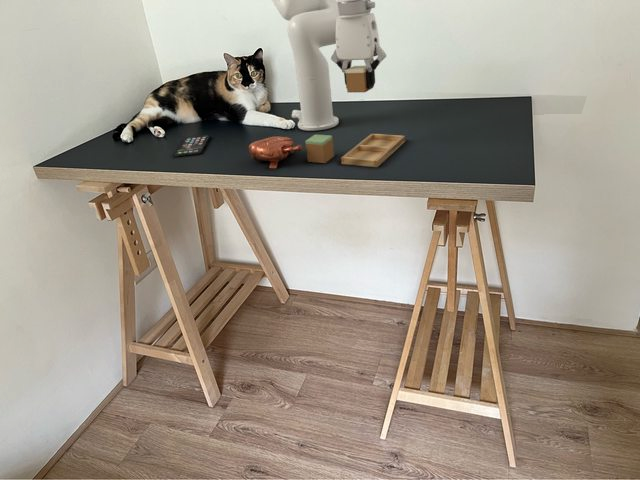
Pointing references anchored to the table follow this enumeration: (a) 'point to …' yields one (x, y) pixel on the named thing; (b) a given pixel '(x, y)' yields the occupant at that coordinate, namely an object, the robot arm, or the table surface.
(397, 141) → the wooden divided tray
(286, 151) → the heart
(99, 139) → the table surface
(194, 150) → the smartphone
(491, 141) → the table surface
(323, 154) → the pad sage
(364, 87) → the pad cream
